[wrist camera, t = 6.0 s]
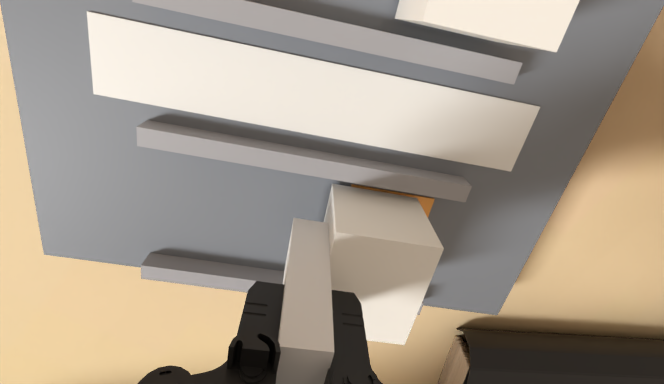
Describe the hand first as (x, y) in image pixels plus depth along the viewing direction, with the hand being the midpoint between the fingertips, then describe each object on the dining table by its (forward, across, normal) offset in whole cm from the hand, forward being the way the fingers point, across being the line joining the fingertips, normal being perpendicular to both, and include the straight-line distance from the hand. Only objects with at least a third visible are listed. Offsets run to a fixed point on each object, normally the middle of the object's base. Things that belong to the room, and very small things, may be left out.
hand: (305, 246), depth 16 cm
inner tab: (+2, -3, 0) cm, 3 cm away
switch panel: (+4, 0, -6) cm, 7 cm away
